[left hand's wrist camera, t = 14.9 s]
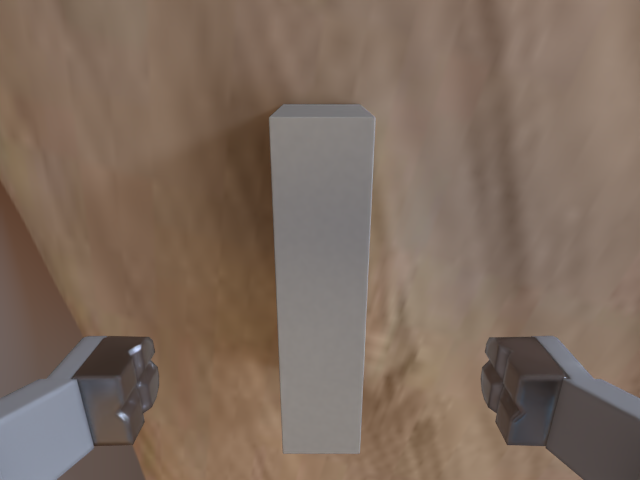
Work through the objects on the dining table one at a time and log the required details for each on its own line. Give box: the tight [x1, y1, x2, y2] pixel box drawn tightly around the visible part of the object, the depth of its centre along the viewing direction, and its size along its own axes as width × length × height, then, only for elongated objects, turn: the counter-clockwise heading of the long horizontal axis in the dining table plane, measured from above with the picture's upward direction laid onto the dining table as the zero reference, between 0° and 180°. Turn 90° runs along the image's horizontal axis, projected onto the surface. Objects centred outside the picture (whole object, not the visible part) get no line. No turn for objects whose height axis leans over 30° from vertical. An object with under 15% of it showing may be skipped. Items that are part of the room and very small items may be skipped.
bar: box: [269, 104, 375, 454], centre depth 31 cm, size 24×6×9 cm, turn 0°
